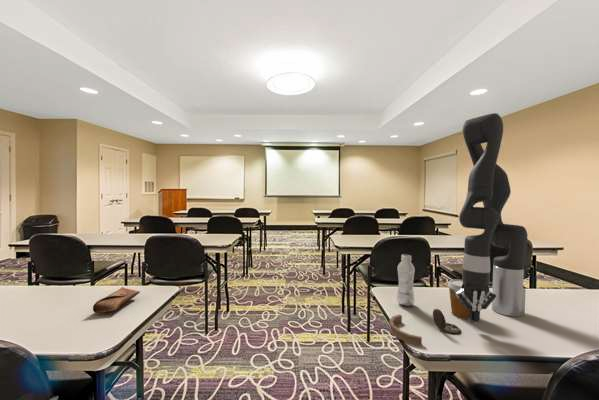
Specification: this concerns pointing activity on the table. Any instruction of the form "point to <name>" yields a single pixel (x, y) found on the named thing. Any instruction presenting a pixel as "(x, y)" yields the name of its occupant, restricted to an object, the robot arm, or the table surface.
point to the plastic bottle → (405, 281)
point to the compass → (444, 323)
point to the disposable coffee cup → (457, 300)
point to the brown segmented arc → (402, 335)
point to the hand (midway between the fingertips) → (473, 321)
